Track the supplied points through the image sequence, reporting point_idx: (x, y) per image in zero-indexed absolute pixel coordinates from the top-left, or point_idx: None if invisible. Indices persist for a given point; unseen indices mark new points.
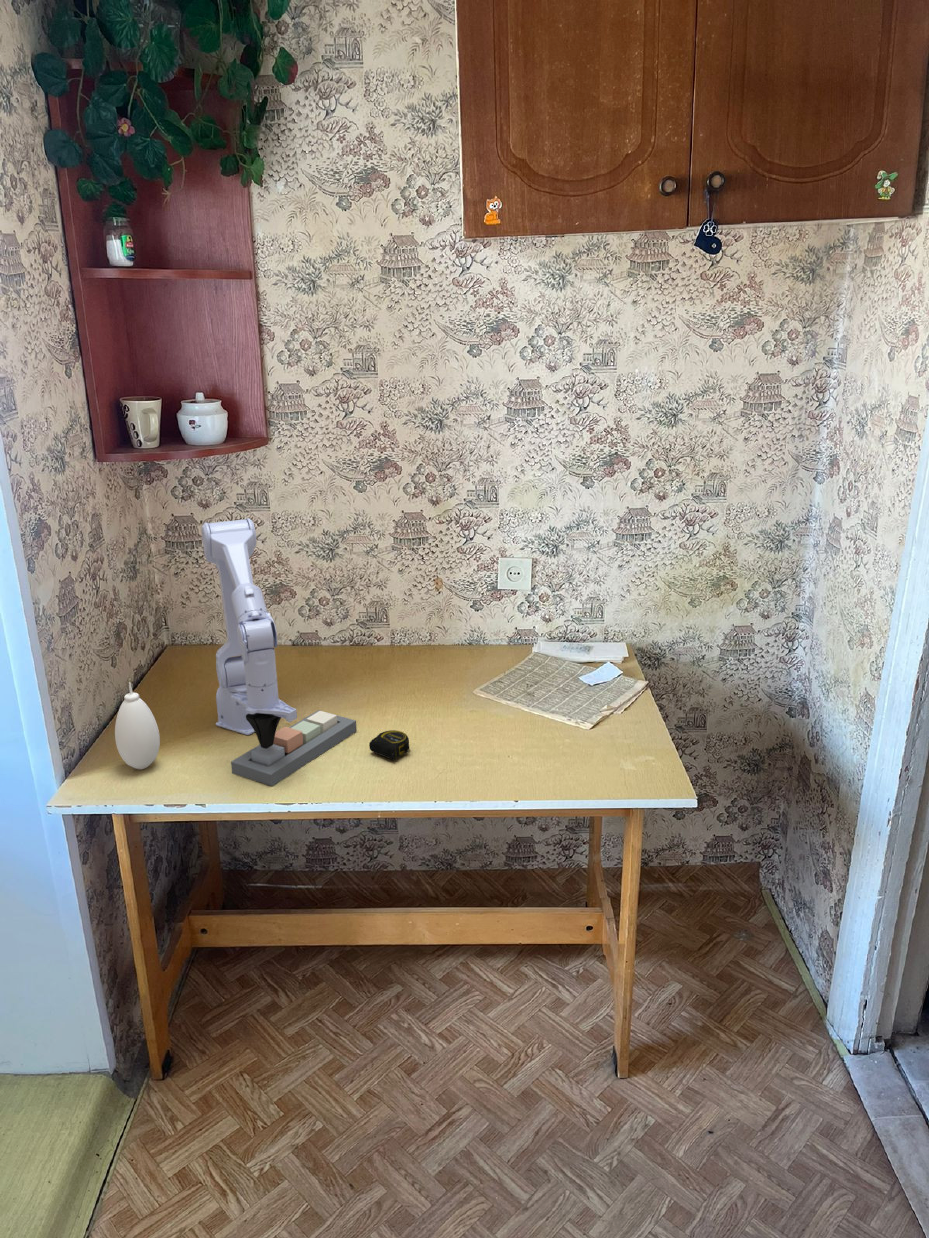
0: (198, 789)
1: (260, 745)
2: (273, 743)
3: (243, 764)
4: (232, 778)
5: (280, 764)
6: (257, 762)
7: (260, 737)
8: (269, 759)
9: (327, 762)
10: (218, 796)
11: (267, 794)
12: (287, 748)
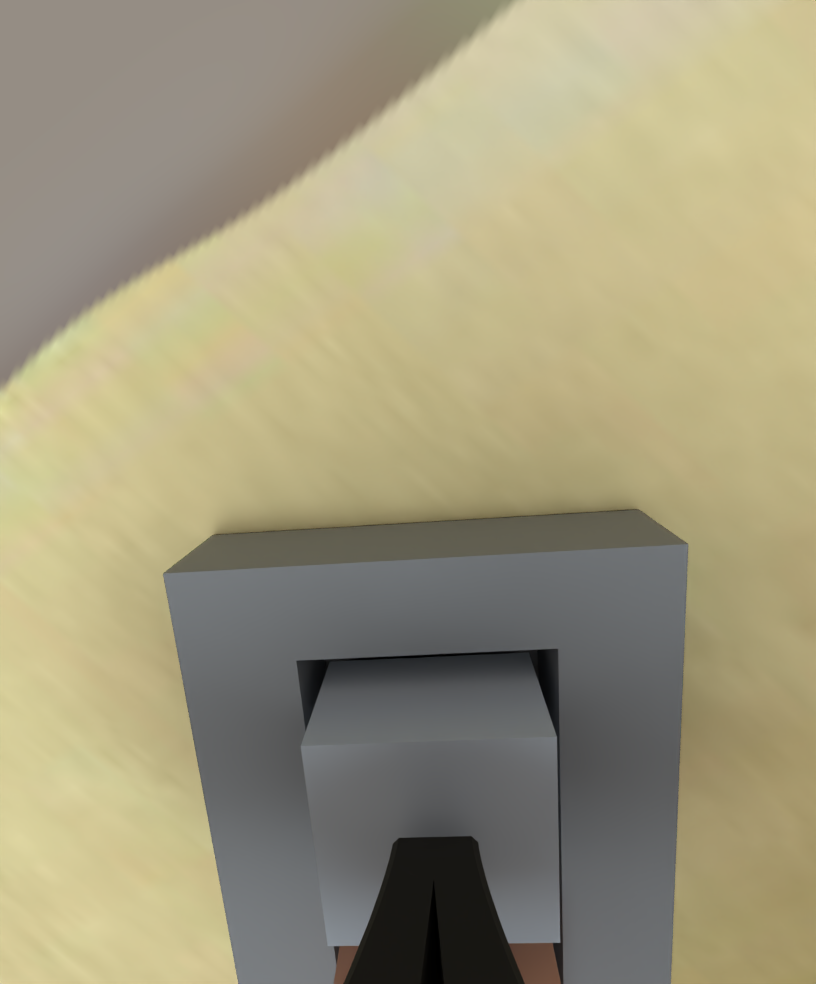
0: (702, 136)
1: (656, 885)
2: (518, 954)
3: (532, 571)
4: (573, 452)
5: (242, 744)
6: (466, 676)
7: (445, 974)
8: (308, 732)
9: (175, 948)
10: (448, 163)
11: (146, 435)
12: (344, 949)
